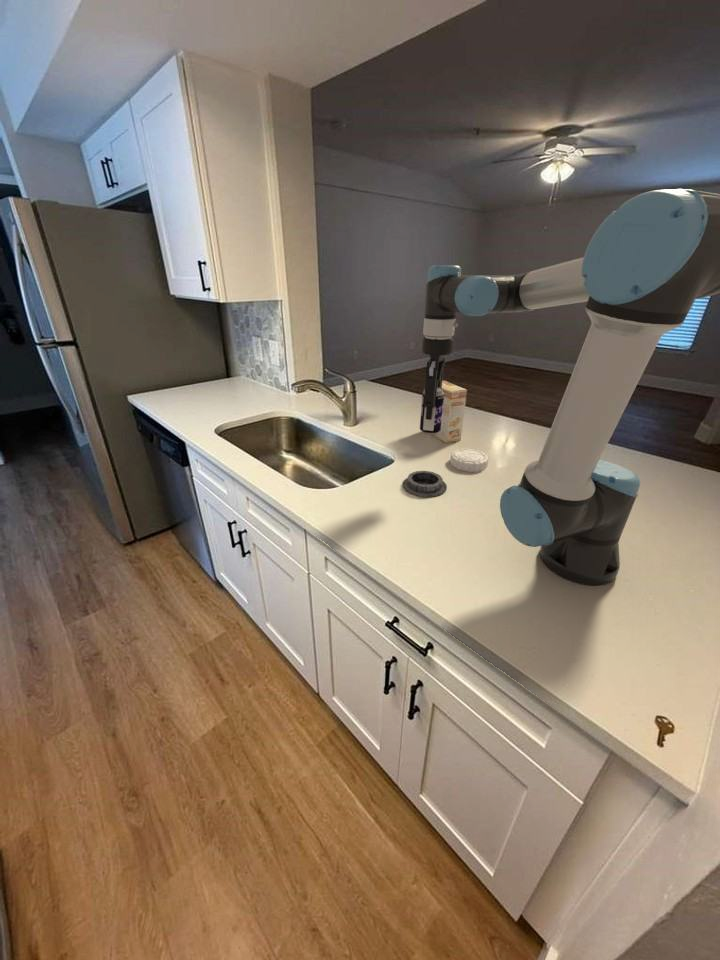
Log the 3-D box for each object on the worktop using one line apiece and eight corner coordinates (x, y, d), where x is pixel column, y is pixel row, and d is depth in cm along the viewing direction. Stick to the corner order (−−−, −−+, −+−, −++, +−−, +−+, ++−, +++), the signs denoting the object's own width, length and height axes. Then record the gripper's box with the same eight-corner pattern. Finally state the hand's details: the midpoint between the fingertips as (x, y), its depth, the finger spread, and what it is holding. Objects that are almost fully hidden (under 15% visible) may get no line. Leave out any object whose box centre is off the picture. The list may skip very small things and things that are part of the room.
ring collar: (443, 500, 108) (444, 492, 107) (397, 493, 112) (398, 485, 110) (449, 479, 119) (450, 472, 118) (407, 473, 122) (408, 466, 121)
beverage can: (424, 436, 104) (428, 392, 99) (416, 429, 109) (419, 387, 103) (443, 434, 106) (448, 391, 100) (435, 427, 110) (439, 385, 105)
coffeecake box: (461, 440, 146) (468, 389, 137) (445, 443, 144) (450, 391, 135) (440, 427, 159) (444, 379, 149) (424, 430, 156) (428, 381, 147)
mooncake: (445, 468, 126) (447, 458, 125) (455, 454, 136) (456, 444, 134) (483, 475, 122) (485, 465, 120) (490, 460, 131) (491, 451, 130)
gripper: (448, 343, 87) (438, 440, 98) (458, 332, 102) (448, 416, 113) (415, 341, 89) (409, 436, 100) (430, 331, 104) (423, 414, 115)
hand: (430, 425), depth 106 cm, fingers closed on beverage can, 6 cm apart
